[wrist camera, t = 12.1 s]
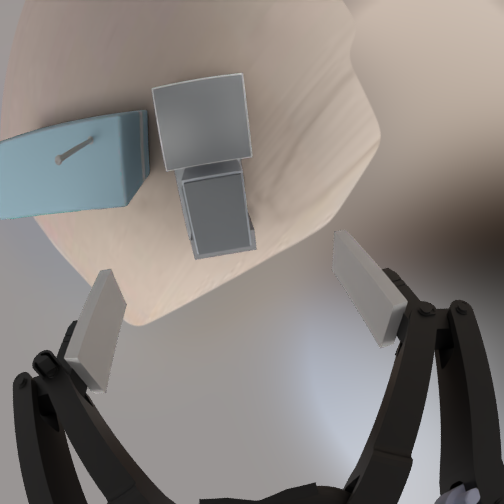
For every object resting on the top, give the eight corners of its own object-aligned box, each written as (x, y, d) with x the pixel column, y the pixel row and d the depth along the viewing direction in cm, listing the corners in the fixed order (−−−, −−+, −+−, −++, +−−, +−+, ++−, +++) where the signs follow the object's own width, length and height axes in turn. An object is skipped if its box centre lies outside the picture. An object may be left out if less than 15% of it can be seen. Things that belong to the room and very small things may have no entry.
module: (185, 160, 29) (177, 182, 22) (233, 152, 29) (243, 171, 22) (196, 219, 32) (194, 257, 25) (241, 211, 33) (252, 247, 26)
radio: (47, 192, 30) (-42, 273, 13) (39, 128, 26) (-71, 174, 9) (152, 180, 33) (101, 272, 16) (149, 109, 28) (77, 124, 11)
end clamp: (192, 218, 35) (190, 240, 30) (246, 209, 36) (254, 229, 31) (196, 235, 37) (194, 259, 32) (249, 226, 37) (256, 249, 32)
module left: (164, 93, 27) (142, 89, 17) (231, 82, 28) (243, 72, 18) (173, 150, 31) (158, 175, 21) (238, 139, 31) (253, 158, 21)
